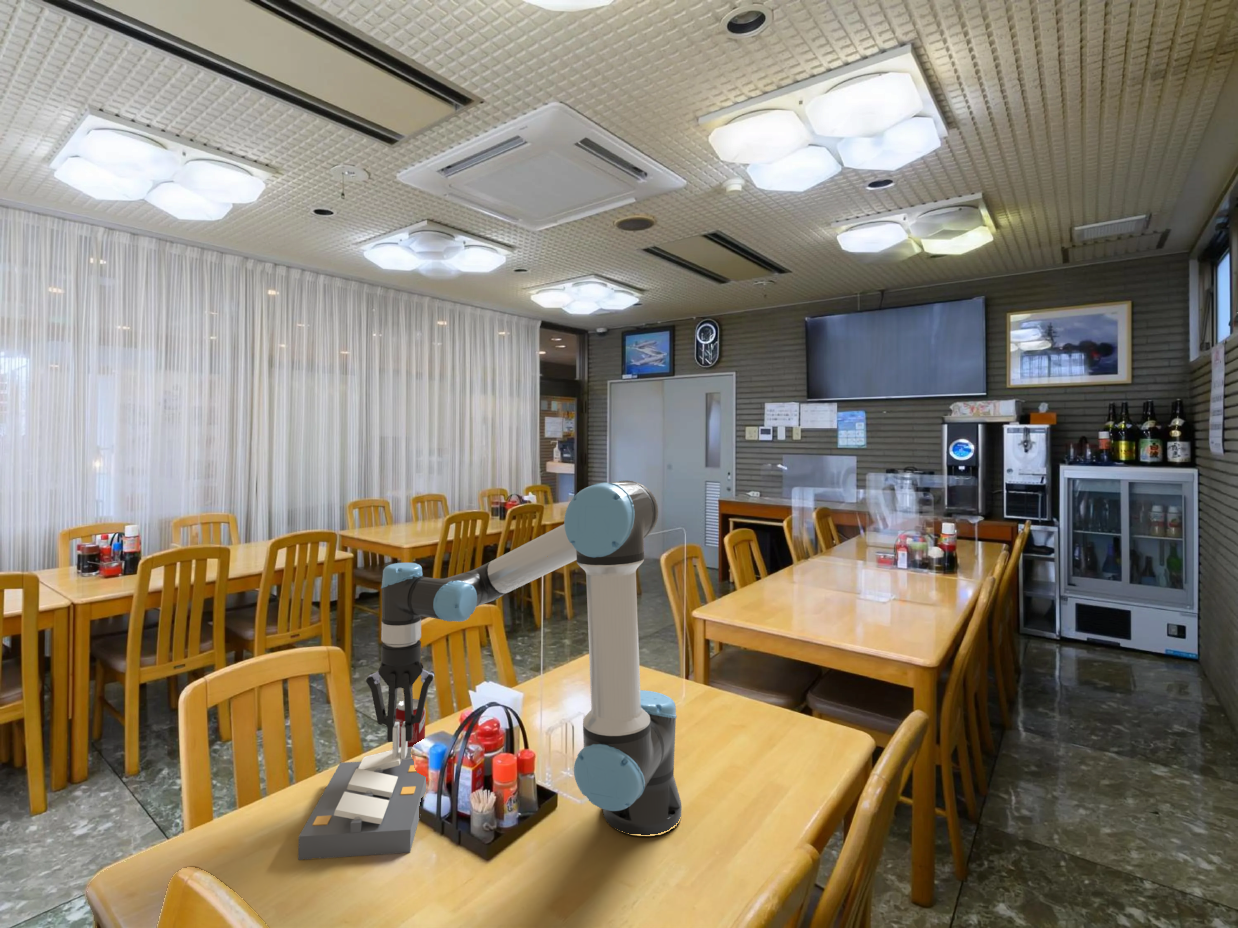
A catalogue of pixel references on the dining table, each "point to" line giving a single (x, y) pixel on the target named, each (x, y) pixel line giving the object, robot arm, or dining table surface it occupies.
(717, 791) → the dining table surface
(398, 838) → the switch unit
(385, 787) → the middle switch
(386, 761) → the far switch
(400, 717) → the soda can
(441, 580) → the robot arm
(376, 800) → the near switch
